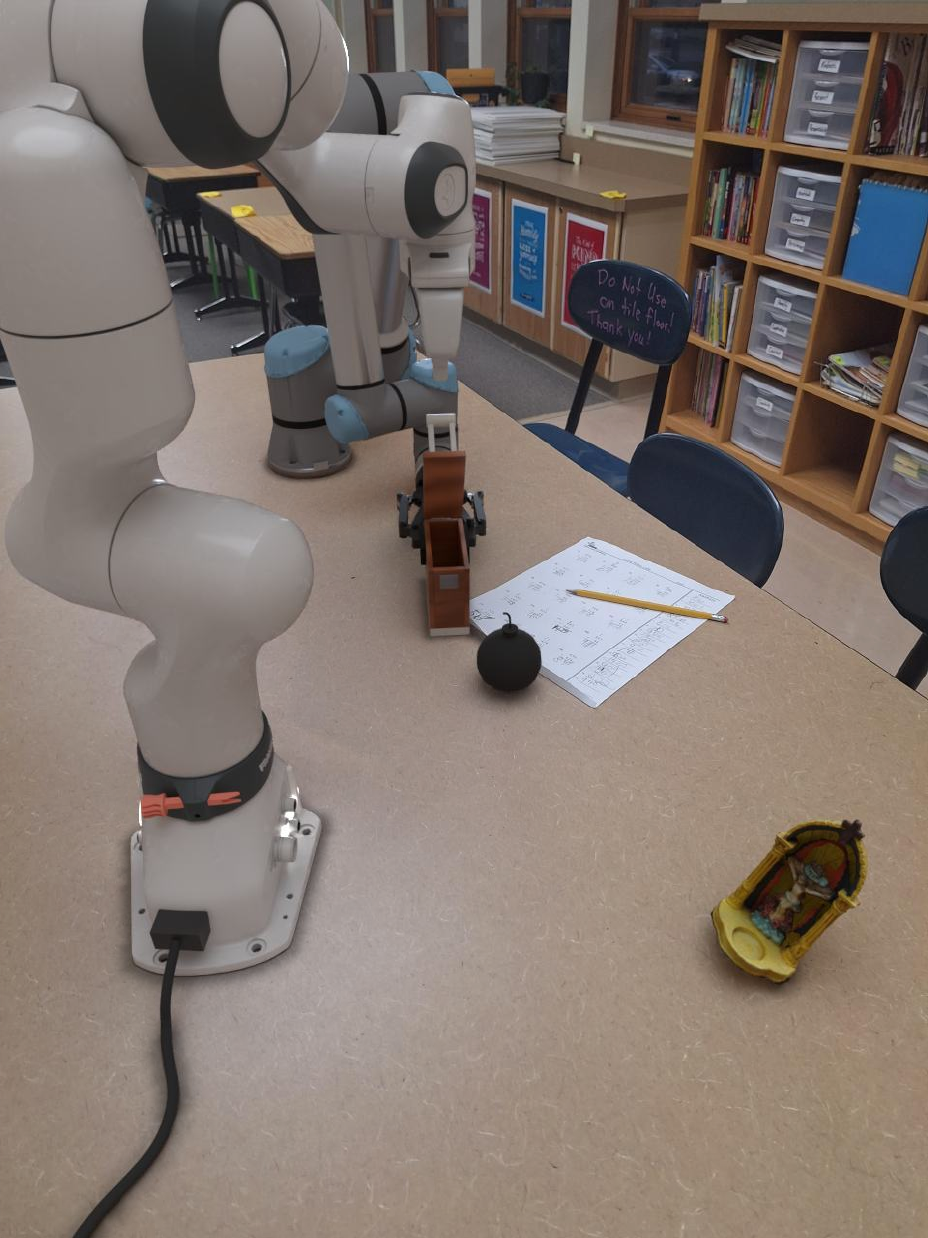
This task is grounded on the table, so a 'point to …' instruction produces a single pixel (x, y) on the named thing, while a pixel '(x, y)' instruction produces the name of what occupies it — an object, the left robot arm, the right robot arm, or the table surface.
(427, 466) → the lid
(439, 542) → the chest
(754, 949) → the shrine
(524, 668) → the bomb
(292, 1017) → the table surface
